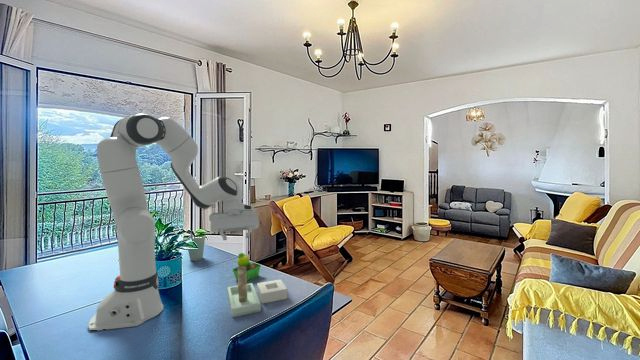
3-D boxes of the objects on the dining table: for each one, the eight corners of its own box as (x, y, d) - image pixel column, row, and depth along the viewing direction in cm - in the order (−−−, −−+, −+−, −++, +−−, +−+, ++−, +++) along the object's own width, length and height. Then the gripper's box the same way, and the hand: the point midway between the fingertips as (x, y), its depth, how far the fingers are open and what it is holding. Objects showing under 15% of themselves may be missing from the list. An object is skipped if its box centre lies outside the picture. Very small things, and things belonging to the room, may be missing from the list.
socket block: (262, 303, 114) (261, 293, 114) (257, 292, 124) (257, 283, 123) (287, 298, 118) (287, 288, 118) (281, 288, 127) (280, 279, 127)
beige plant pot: (203, 254, 173) (202, 229, 172) (209, 259, 165) (208, 232, 164) (183, 258, 167) (182, 232, 166) (189, 263, 158) (187, 236, 157)
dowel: (239, 303, 114) (237, 269, 112) (238, 299, 117) (236, 267, 115) (247, 301, 115) (246, 268, 114) (246, 297, 118) (245, 265, 117)
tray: (232, 317, 105) (231, 309, 105) (227, 294, 123) (227, 287, 123) (260, 311, 109) (260, 303, 109) (252, 289, 126) (252, 282, 126)
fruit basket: (242, 284, 132) (241, 259, 132) (230, 279, 138) (229, 255, 137) (262, 275, 142) (261, 252, 141) (249, 271, 147) (248, 248, 146)
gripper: (208, 208, 128) (210, 236, 120) (257, 206, 136) (261, 232, 127) (209, 217, 133) (210, 244, 124) (255, 214, 140) (259, 239, 132)
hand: (236, 238), depth 126 cm, fingers open, 8 cm apart
